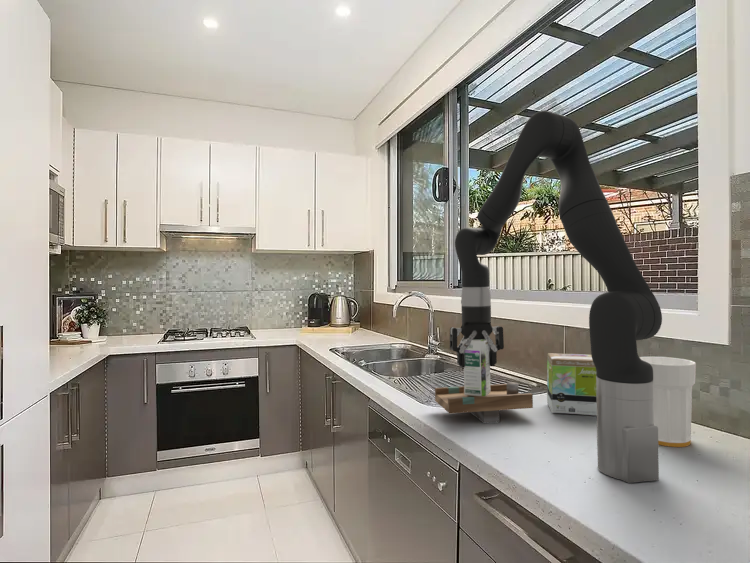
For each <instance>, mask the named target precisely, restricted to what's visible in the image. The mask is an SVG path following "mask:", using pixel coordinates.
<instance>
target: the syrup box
mask: <svg viewBox="0 0 750 563" xmlns="http://www.w3.org/2000/svg"><path fill="white" fill-rule="evenodd" d="M464 341H466V339H464V340H463V342H464ZM463 353H464V358H465V367H464V368H463V382H464V384H463V386H464V395H470V396H487V395H488V394H489V393H490V392H491V387H490V385H491V366H490V346H489V345H488V343H487V339H474V340H472V341H471V343H470V344H469V346H468V347H467V348H466V349H465V351H464V352H463Z"/></svg>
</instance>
